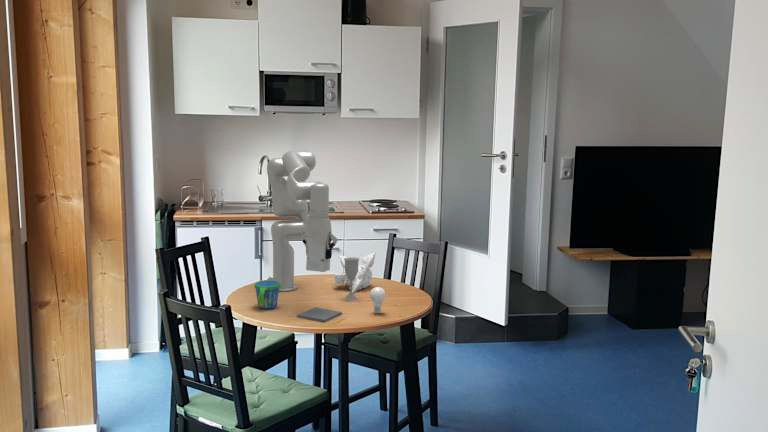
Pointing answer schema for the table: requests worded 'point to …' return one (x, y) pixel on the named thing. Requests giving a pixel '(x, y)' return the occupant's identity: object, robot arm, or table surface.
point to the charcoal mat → (319, 314)
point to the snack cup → (267, 293)
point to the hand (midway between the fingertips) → (318, 257)
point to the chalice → (351, 274)
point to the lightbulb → (377, 298)
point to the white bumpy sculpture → (358, 273)
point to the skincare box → (316, 256)
